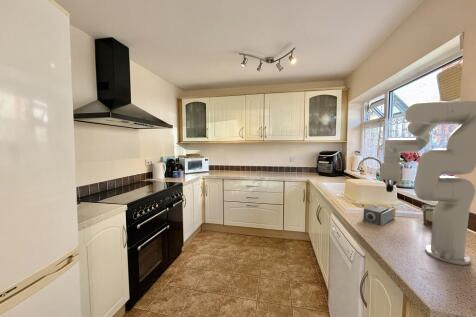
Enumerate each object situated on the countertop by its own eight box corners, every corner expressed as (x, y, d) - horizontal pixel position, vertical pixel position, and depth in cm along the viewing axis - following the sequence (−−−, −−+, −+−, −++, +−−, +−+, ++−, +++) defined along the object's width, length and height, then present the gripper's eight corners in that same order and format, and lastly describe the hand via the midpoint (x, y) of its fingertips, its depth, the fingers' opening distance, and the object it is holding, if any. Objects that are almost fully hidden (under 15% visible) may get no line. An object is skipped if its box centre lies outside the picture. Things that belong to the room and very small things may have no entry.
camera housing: (377, 225, 111) (378, 212, 110) (362, 221, 118) (362, 208, 117) (387, 220, 119) (388, 207, 118) (372, 215, 125) (373, 203, 125)
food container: (438, 222, 115) (440, 204, 114) (448, 227, 109) (450, 208, 108) (414, 221, 117) (415, 204, 116) (423, 226, 111) (424, 207, 110)
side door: (381, 225, 110) (382, 214, 110) (379, 225, 111) (380, 213, 111) (395, 218, 121) (395, 207, 121) (393, 217, 122) (393, 206, 121)
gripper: (410, 161, 115) (407, 193, 117) (379, 158, 127) (377, 188, 129) (405, 162, 111) (402, 195, 113) (374, 159, 123) (372, 190, 125)
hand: (389, 191), depth 121 cm, fingers closed
